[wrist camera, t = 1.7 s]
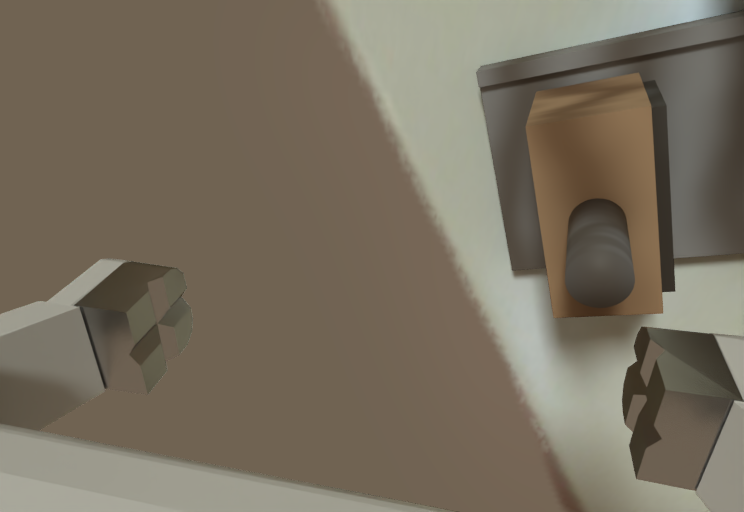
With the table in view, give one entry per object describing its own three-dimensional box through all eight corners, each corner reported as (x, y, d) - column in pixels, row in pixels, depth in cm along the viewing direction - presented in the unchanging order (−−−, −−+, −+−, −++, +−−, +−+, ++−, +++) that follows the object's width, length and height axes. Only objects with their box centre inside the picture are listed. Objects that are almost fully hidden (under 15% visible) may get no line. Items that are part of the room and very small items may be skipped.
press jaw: (653, 69, 35) (688, 141, 23) (663, 248, 39) (696, 383, 28) (536, 91, 37) (513, 166, 25) (558, 256, 42) (548, 383, 30)
